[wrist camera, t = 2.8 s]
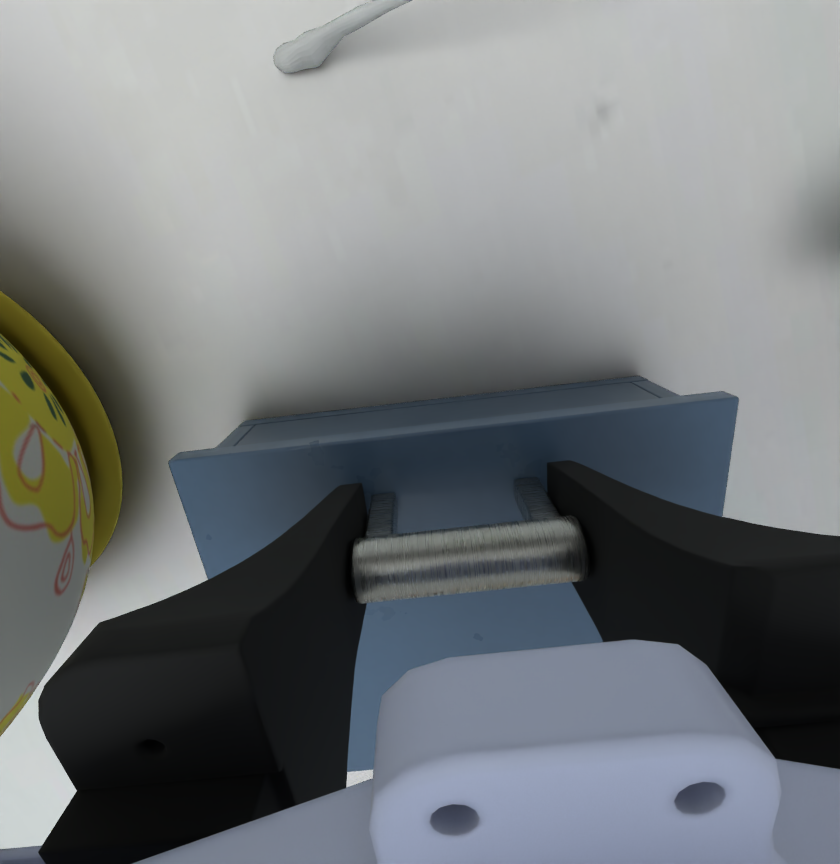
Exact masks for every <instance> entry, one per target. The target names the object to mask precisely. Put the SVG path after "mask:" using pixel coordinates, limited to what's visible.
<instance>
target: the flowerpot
mask: <svg viewBox="0 0 840 864" xmlns="http://www.w3.org/2000/svg"><path fill="white" fill-rule="evenodd" d="M122 489H123V482H122V468H121V461H120V455H119V451H118V446H117V442H116V439H115V436H114V433H113V430H112V427H111V424H110V422H109V419H108V417H107V414H106V412H105V410H104V408H103V406H102V404H101V402H100V400H99V398H98V396H97V395H96V393H95V391H94V389H93V388H92V386H91V384H90V383H89V381H88V380H87V378H86V377H85V375H84V374H83V372H82V371H81V369H80V368H79V367H78V365H77V364H76V363H75V361H74V360H73V359H72V357H71V356H70V355H69V354H68V353H67V351H66V350H65V349H64V348H63V347H62V345H61V344H60V343H59V342H58V341H57V340H56V339H55V338H54V337H53V336H52V335H51V334H50V333H49V332H48V331H47V330H46V328H45V327H43V326H42V325H41V324H40V323H39V322H38V321H37V320H36V319H35V318H34V317H33V316H32V315H30V314H29V313H28V312H27V311H26V310H24V309H23V308H22V307H21V306H20V305H18V304H17V303H16V302H15V301H13V300H12V299H11V298H9V297H8V296H6V295H5V294H4V293H2V292H1V291H0V736H1V735H2V734H3V733H4V731H5V730H6V729H7V728H8V726H9V725H10V724H11V723H12V721H13V720H14V719H15V717H16V716H17V715H18V713H19V712H20V711H21V709H22V708H23V707H24V705H25V704H26V703H27V701H28V700H29V698H30V697H31V695H32V694H33V692H34V691H35V689H36V688H37V686H38V685H39V683H40V682H41V680H42V679H43V677H44V676H45V674H46V672H47V671H48V669H49V668H50V666H51V664H52V662H53V661H54V659H55V657H56V655H57V653H58V652H59V650H60V648H61V646H62V644H63V642H64V640H65V638H66V636H67V634H68V632H69V629H70V627H71V625H72V623H73V620H74V618H75V615H76V612H77V610H78V607H79V604H80V601H81V598H82V596H83V592H84V589H85V585H86V581H87V577H88V573H89V568H90V567H91V566H92V565H93V564H94V562H95V561H96V560H97V559H98V558H99V556H100V555H101V554H102V552H103V551H104V549H105V548H106V546H107V544H108V543H109V541H110V539H111V537H112V535H113V532H114V530H115V527H116V524H117V521H118V517H119V513H120V509H121V502H122Z"/></svg>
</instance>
